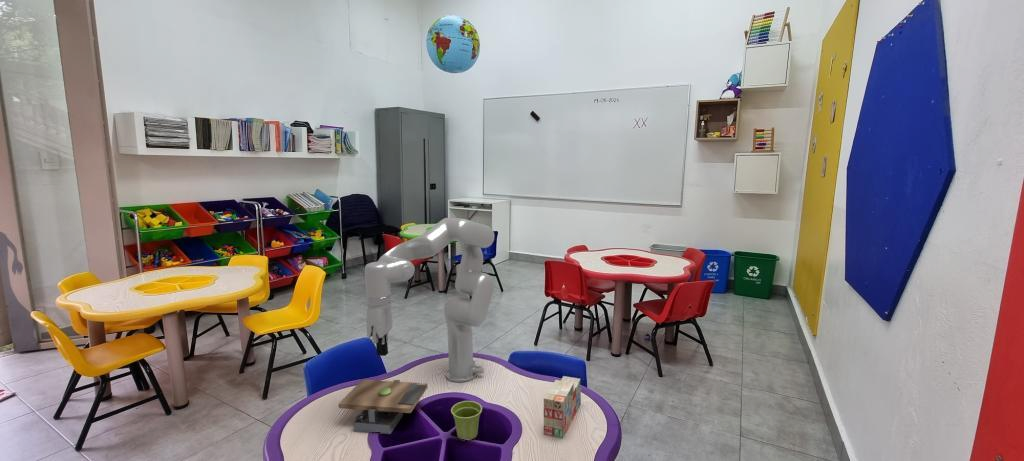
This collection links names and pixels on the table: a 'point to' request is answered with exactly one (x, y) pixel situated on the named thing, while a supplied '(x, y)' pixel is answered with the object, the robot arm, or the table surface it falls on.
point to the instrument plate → (384, 396)
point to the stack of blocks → (561, 406)
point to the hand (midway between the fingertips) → (382, 354)
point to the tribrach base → (377, 421)
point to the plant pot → (466, 418)
